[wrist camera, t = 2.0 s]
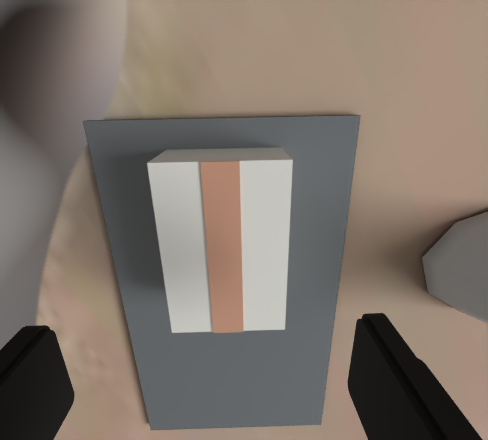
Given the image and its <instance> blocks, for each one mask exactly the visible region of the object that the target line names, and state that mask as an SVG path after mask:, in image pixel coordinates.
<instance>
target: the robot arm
mask: <svg viewBox="0 0 488 440" xmlns="http://www.w3.org/2000/svg"><path fill="white" fill-rule="evenodd" d="M348 389H349V393H350V396H351V398H352V401H353V403H354V406H355V408H356V411H357V413H358V416H359V418H360V420H361V423H362V425H363V428H364V430H365V433H366V435H367V438H368V440H482V439H481V437H480V436H479V435H478V433H477V432H476V431H475V429H474V428H473V427H472V425H471V424H470V423H469V421H468V420H467V419H466V417H465V416H464V415H463V413H462V412H461V411H460V409H459V408H458V407H457V405H456V404H455V403H454V401H453V400H452V399H451V397H450V396H449V395H448V393H447V392H446V391H445V389H444V388H443V387H442V385H441V384H440V383H439V381H438V380H437V379H436V377H435V376H434V375H433V373H432V372H431V371H430V369H429V368H428V367H427V365H426V364H425V363H424V362H423V361H422V360H420V359H418V358H417V357H416V356H415V354H414V353H413V352H412V350H411V349H410V348H409V346H408V345H407V344H406V342H405V341H404V340H403V338H402V337H401V335H400V334H399V333H398V331H397V330H396V329H395V327H394V326H393V325H392V323H391V322H390V321H389V319H388V318H387V316H386V315H385V314H383V313H374V314H363V316H362V319H358V320H357V323H356V330H355V336H354V343H353V350H352V356H351V363H350V370H349V376H348ZM73 401H74V390H73V387H72V384H71V381H70V378H69V375H68V372H67V369H66V365H65V362H64V359H63V356H62V353H61V350H60V347H59V344H58V340H57V337H56V334H55V332H54V331H53V330H50V328H49V327H48V326H45V325H43V326H26V327H23V328H22V329H21V330H20V331H19V332H18V333H17V334H16V335H15V336H14V337H13V338H12V339H11V340H10V341H9V342H8V343H7V344H6V345H5V346H4V347H3V348H2V349H1V350H0V440H53V439H54V437H55V436H56V434H57V432H58V430H59V428H60V427H61V425H62V423H63V421H64V419H65V417H66V416H67V414H68V412H69V410H70V408H71V406H72V404H73Z"/></svg>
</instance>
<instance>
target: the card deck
mask: <svg viewBox="0 0 488 440" xmlns="http://www.w3.org/2000/svg"><path fill="white" fill-rule="evenodd" d="M292 166H293V159H292V158H291V157H290V156H289V155H288V154H287V153H286V152H285V151H284V150H283V149H282V148H281V147H272V148H226V149H180V150H165V151H164V152H163V153H161V154H160V155H158V156H157V157H155V158H154V159H152V160H151V161H149V162H148V163H147V167H148V173H149V180H150V187H151V194H152V201H153V207H154V214H155V221H156V228H157V235H158V241H159V248H160V255H161V262H162V269H163V275H164V282H165V289H166V296H167V303H168V310H169V316H170V323H171V330H172V333H185V332H213V333H233V332H244V331H253V330H285V318H286V296H287V275H288V253H289V231H290V209H291V188H292Z"/></svg>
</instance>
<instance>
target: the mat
mask: <svg viewBox="0 0 488 440" xmlns="http://www.w3.org/2000/svg"><path fill="white" fill-rule="evenodd" d="M360 116H361V115H332V116H284V117H235V118H186V119H138V120H89V121H83V123H84V128H85V132H86V136H87V142H88V146H89V151H90V155H91V160H92V165H93V169H94V174H95V178H96V183H97V187H98V192H99V196H100V201H101V206H102V210H103V215H104V219H105V224H106V228H107V233H108V238H109V242H110V247H111V251H112V256H113V260H114V265H115V269H116V274H117V279H118V283H119V288H120V292H121V297H122V301H123V306H124V310H125V315H126V320H127V324H128V329H129V333H130V338H131V342H132V347H133V351H134V356H135V361H136V365H137V370H138V374H139V379H140V383H141V388H142V392H143V397H144V402H145V406H146V411H147V415H148V420H149V424H150V429H151V430H174V429H204V428H234V427H265V426H295V425H321V421H322V413H323V405H324V398H325V390H326V382H327V374H328V366H329V358H330V351H331V343H332V335H333V327H334V319H335V312H336V304H337V296H338V288H339V280H340V272H341V265H342V257H343V249H344V241H345V233H346V226H347V218H348V210H349V202H350V194H351V186H352V179H353V171H354V163H355V155H356V147H357V139H358V132H359V124H360ZM272 147H281V148H282V149H283V150H284V151H285V152H286V153H287V154H288V155H289V156H290V157H291V158H292V159H293V166H292V188H291V209H290V231H289V253H288V275H287V296H286V318H285V330H253V331H244V332H233V333H213V332H185V333H172V330H171V323H170V316H169V310H168V303H167V296H166V289H165V282H164V275H163V269H162V262H161V255H160V248H159V241H158V235H157V228H156V221H155V214H154V207H153V201H152V194H151V187H150V180H149V173H148V167H147V163H148V162H149V161H151V160H152V159H154V158H155V157H157V156H158V155H160V154H161V153H163V152H164V151H165V150H180V149H226V148H272Z"/></svg>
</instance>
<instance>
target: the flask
mask: <svg viewBox="0 0 488 440" xmlns="http://www.w3.org/2000/svg"><path fill="white" fill-rule="evenodd" d="M422 262H423V268H424V273H425V279H426V284H427V290H428V293H429V294H431V295H433V296H434V297H436V298H438V299H440V300H441V301H443V302H445V303H446V304H448V305H450V306H451V307H453V308H455V309H456V310H458V311H460V312H463V313H465V314H467V315H469V316H471V317H474V318H476V319H478V320H481V321H483V322H485V323H488V212H485V213H482V214H479V215H476V216H473V217H470V218H467V219H464V220H461V221H458V222H456V223H455V224H454V225H453V226H452V227H451V228H450V229H449V230H448V231H447V232H446V233H445V234H444V235H443V236H442V237H441V238H440V239H439V240H438V242H437V243H436V244H435V245H434V246H433V247H432V248H431V249H430V250H429V251H428V252H427V253H426V254H425V255H424V256H423V257H422Z"/></svg>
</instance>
